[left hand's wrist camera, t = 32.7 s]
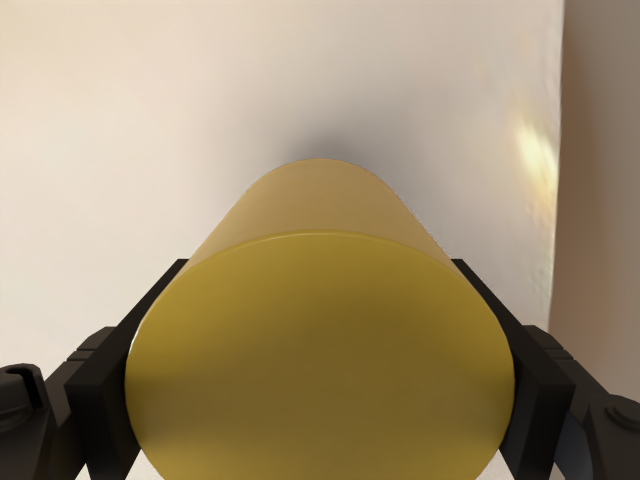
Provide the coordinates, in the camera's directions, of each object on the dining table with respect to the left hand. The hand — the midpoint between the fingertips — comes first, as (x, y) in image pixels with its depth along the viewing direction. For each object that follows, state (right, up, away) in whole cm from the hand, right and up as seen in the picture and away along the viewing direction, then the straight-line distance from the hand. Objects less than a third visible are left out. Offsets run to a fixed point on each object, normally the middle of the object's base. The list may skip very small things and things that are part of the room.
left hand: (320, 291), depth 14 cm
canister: (0, +1, +4) cm, 4 cm away
